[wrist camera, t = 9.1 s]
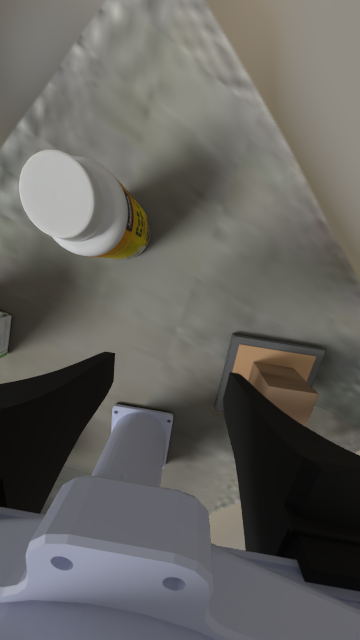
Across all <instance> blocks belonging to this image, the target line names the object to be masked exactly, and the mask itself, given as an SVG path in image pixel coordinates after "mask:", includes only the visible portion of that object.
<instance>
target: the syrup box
mask: <svg viewBox="0 0 360 640" xmlns="http://www.w3.org/2000/svg"><path fill="white" fill-rule="evenodd" d="M11 317H12V316H11V315H10V314H8V313H5V312H2V311H0V358H1V357H4V356H5V355H7V352H8V344H9V336H10V326H11Z"/></svg>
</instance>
